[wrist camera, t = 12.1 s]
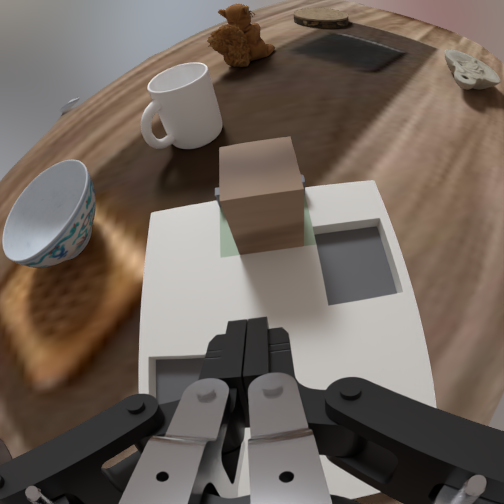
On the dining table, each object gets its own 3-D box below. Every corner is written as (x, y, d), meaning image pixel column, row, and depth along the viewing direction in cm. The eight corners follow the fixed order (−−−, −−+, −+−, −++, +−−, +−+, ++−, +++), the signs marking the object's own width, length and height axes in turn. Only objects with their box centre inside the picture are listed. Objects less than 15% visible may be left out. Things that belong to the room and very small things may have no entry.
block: (303, 246, 27) (303, 188, 20) (239, 255, 28) (219, 201, 21) (294, 196, 30) (290, 136, 23) (236, 204, 31) (219, 147, 24)
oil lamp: (490, 118, 37) (498, 98, 32) (427, 84, 43) (431, 63, 39) (497, 87, 43) (502, 71, 38) (447, 60, 49) (450, 44, 44)
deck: (431, 468, 17) (451, 475, 13) (156, 496, 19) (135, 506, 16) (370, 191, 32) (376, 167, 28) (158, 222, 34) (144, 201, 30)
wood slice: (359, 27, 61) (359, 18, 58) (310, 31, 60) (309, 21, 58) (330, 14, 69) (329, 6, 66) (285, 19, 68) (284, 10, 66)
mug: (175, 175, 37) (146, 114, 29) (142, 157, 41) (114, 104, 32) (235, 125, 41) (220, 65, 32) (198, 112, 44) (181, 60, 36)
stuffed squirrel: (276, 49, 55) (270, -2, 43) (253, 74, 49) (242, 14, 38) (236, 48, 58) (226, 1, 46) (208, 73, 52) (192, 19, 41)
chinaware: (138, 217, 35) (109, 176, 28) (65, 311, 30) (21, 285, 23) (84, 183, 41) (59, 150, 34) (25, 256, 36) (-7, 229, 29)
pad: (315, 254, 29) (316, 244, 27) (225, 267, 30) (220, 257, 28) (303, 199, 32) (303, 187, 31) (223, 211, 33) (219, 200, 31)
